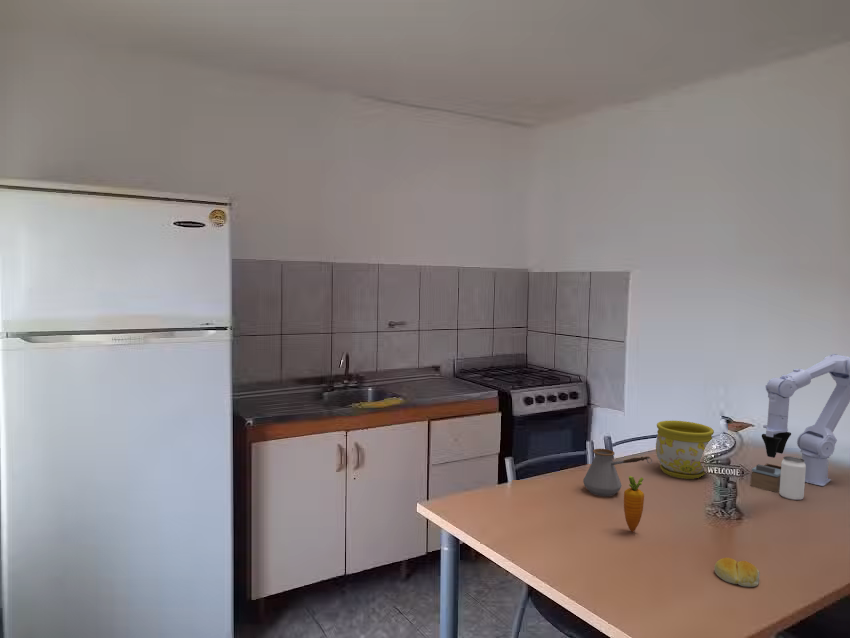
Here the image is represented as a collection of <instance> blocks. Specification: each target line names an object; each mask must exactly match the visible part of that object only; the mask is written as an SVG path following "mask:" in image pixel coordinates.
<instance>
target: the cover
mask: <svg viewBox="0 0 850 638" xmlns="http://www.w3.org/2000/svg"><path fill="white" fill-rule="evenodd" d="M764 465H765V464H756V466H754V467H752V468H751V472H758V473H762V474H766V475H770V476H774V477H779V476H780V475H781V469H777V468H773V467H769V466H764Z"/></svg>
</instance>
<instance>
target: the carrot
mask: <svg viewBox="0 0 850 638" xmlns="http://www.w3.org/2000/svg"><path fill="white" fill-rule="evenodd" d="M628 480H629V483H630V484H629V483H628V485H629V487H628V488H626V489H625V490H624V493H623V511H624V517H625V521H626V524H627V527H628V529H629V531H630V532H631V533H634V532H635V531H636V529H637V527H638V526H639V524H640V523H641V518H642V516H643V511H644V502H645V493H644V492H643V491H642V490H641V489H639V487H640V486H642V484H643V480H644V477H640V478H639V479H638V482H637V483H636V480H635V478H634V477H633V476H632V475H629V476H628Z"/></svg>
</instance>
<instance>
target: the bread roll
mask: <svg viewBox="0 0 850 638" xmlns="http://www.w3.org/2000/svg"><path fill="white" fill-rule="evenodd" d="M714 572H715V574H716V576H718V577H719V578H720V579H721V580H723V581H725V582H726V583H729V584H732V585H737V584H738V585H739V586H741V587H747V588H751V587H754V588H755V587H757V586H758V585H759V584H760V574H761V573H760V570H759V569H758V568H757V567H756V566H755V565H754V564H753V563H752V562H749V561H747V560H741V561H739V560H738V561H737V560H735V559H734V558H731V557H723V558H720V559H718V560H717V561H716V562H715V564H714Z"/></svg>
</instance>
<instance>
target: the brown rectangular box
mask: <svg viewBox="0 0 850 638" xmlns="http://www.w3.org/2000/svg"><path fill="white" fill-rule="evenodd" d="M763 465H764V466H769V467H773V468H777V469H781V465H776V464H771V463H765V464H763ZM780 476H781V475H780ZM780 476H779V477H774V476H770V475H766V474H762V473H758V472H753V471H751V478H750V486H751V487H753V488H754V487H755V488H758V489H762V490H766V491H769V492H770V491H771V492H774V493H778V492H779V491H780Z"/></svg>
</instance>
